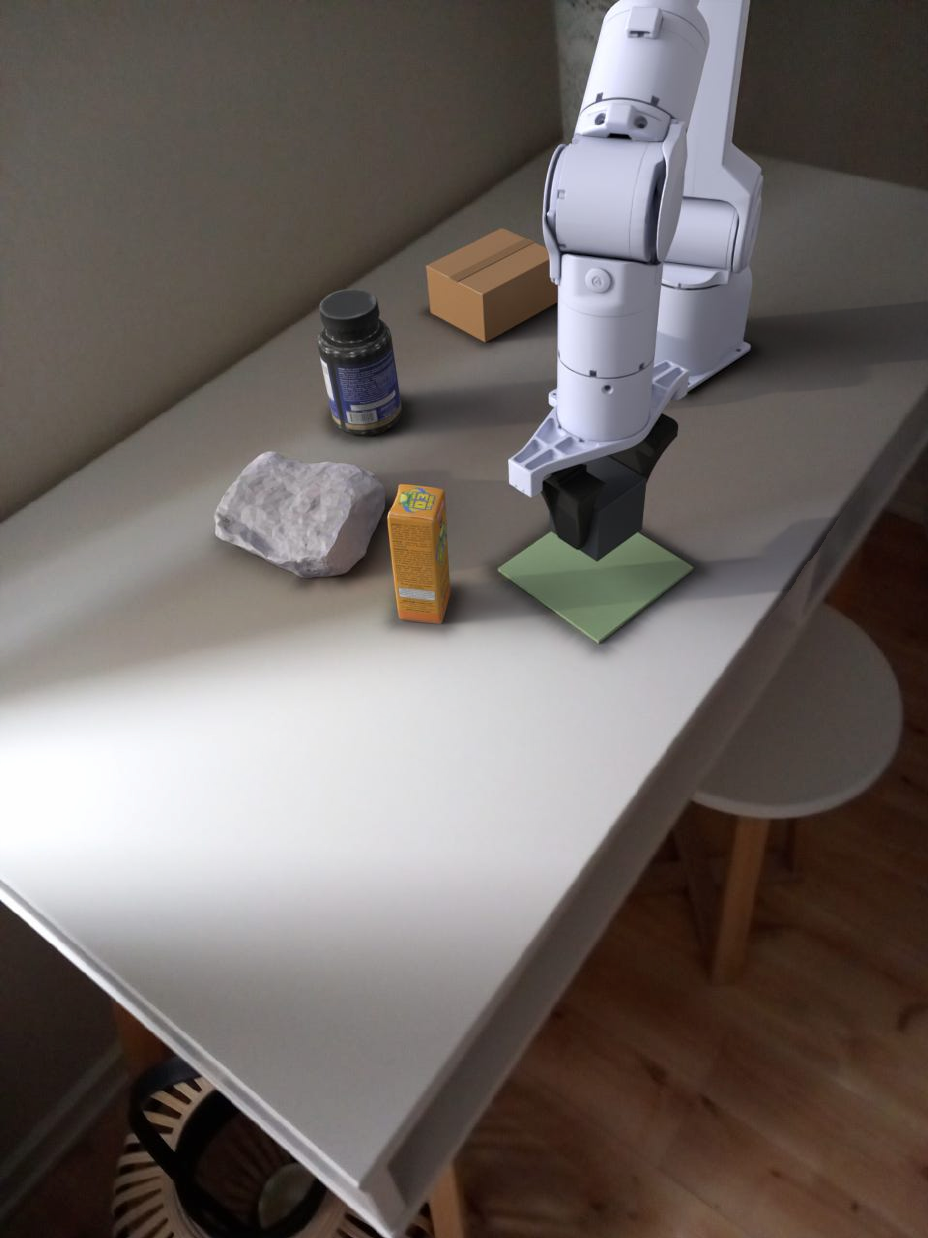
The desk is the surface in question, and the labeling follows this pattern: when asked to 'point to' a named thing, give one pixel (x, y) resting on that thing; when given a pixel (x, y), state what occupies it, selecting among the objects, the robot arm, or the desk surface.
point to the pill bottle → (358, 363)
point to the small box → (613, 507)
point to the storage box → (491, 284)
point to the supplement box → (420, 553)
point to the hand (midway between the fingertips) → (597, 522)
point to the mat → (595, 580)
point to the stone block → (302, 513)
